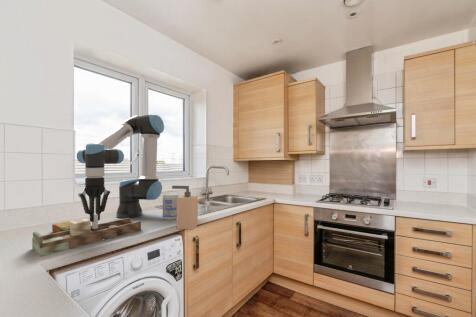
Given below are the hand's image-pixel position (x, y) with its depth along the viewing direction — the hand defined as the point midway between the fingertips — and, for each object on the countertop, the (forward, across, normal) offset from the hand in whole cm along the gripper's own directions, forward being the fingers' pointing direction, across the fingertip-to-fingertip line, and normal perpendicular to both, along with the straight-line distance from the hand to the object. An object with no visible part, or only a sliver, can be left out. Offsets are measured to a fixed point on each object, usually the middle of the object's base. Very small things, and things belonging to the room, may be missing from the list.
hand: (94, 228), depth 106 cm
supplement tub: (+5, -43, -2) cm, 43 cm away
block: (+2, +6, 0) cm, 6 cm away
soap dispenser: (+5, -36, +19) cm, 41 cm away
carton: (+5, +5, -19) cm, 20 cm away
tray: (+5, +1, 0) cm, 5 cm away
